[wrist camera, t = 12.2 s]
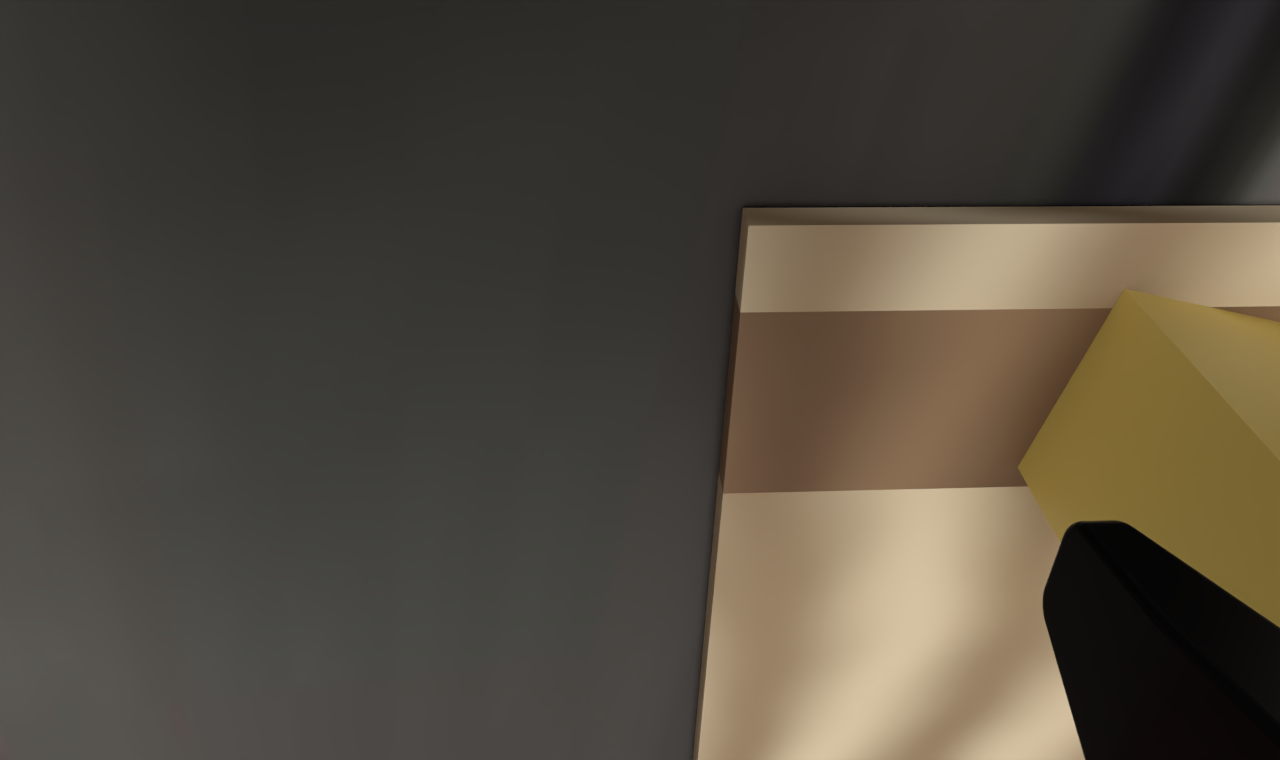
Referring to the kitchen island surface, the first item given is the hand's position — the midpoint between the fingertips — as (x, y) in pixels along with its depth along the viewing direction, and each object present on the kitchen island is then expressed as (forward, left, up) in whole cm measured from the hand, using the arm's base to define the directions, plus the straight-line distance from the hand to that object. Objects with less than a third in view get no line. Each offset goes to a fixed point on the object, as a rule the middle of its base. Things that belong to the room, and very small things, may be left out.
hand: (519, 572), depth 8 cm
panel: (+11, -14, -13) cm, 22 cm away
